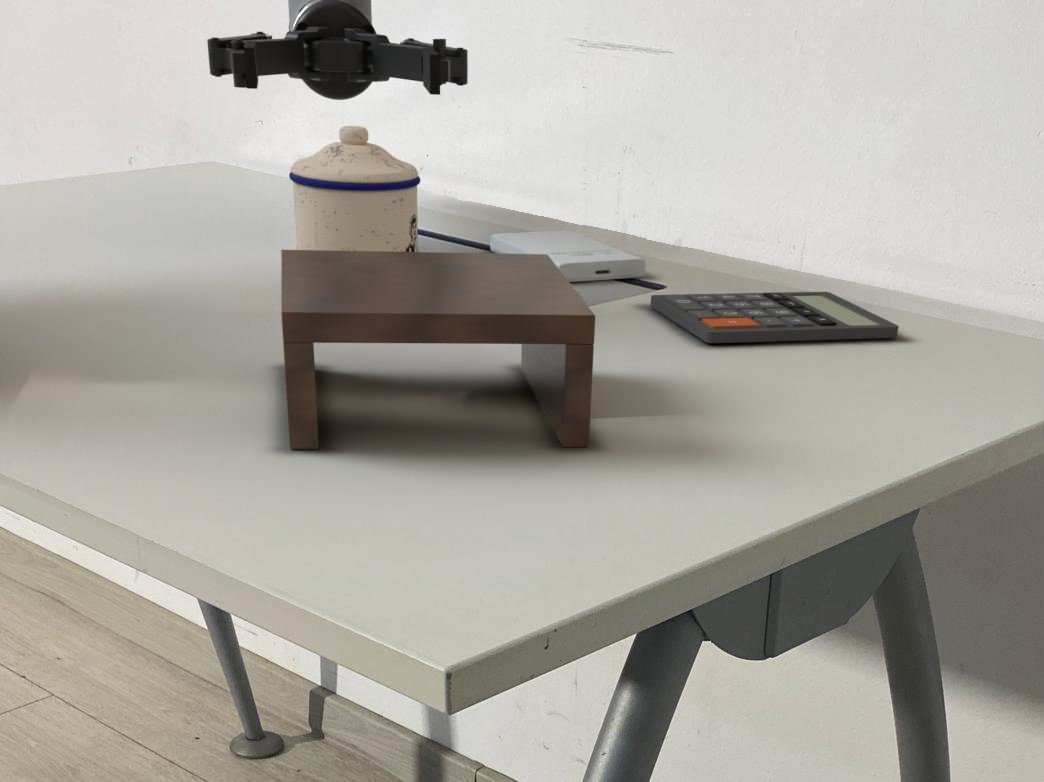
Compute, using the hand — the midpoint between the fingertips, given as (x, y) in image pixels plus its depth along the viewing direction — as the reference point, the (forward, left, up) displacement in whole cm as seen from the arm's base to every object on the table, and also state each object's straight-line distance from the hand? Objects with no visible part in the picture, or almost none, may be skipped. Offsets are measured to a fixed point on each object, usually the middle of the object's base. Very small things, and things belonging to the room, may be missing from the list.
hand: (343, 71), depth 107 cm
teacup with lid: (0, -10, -14) cm, 17 cm away
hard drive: (+18, +3, -14) cm, 23 cm away
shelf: (+3, -38, -14) cm, 40 cm away
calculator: (+30, -17, -14) cm, 37 cm away
